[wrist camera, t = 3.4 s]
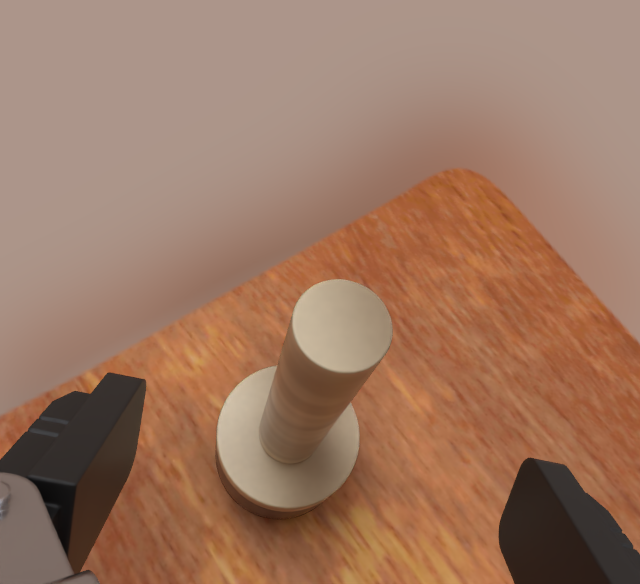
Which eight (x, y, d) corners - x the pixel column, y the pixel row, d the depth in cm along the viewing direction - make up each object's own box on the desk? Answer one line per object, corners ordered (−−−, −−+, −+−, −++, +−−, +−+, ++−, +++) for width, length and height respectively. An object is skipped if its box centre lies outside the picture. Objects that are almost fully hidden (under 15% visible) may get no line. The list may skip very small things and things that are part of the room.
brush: (238, 540, 24) (268, 483, 12) (199, 412, 26) (191, 252, 14) (361, 491, 26) (499, 398, 14) (316, 374, 28) (400, 202, 16)
